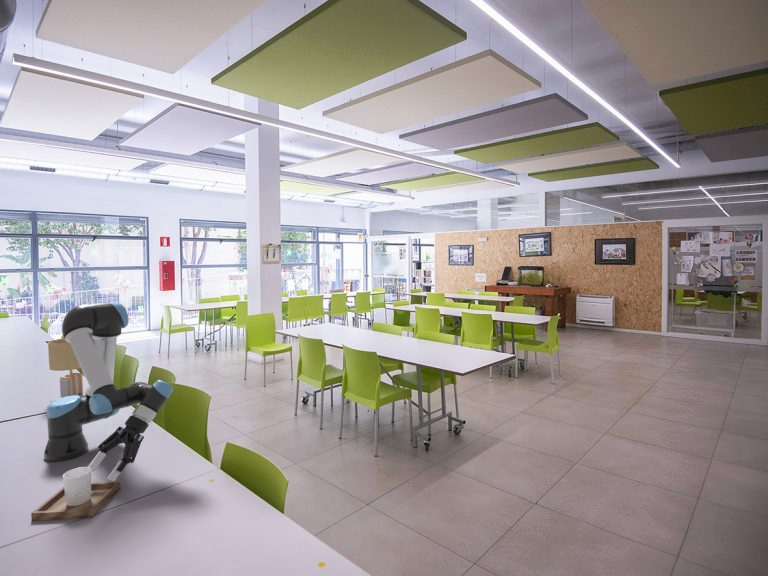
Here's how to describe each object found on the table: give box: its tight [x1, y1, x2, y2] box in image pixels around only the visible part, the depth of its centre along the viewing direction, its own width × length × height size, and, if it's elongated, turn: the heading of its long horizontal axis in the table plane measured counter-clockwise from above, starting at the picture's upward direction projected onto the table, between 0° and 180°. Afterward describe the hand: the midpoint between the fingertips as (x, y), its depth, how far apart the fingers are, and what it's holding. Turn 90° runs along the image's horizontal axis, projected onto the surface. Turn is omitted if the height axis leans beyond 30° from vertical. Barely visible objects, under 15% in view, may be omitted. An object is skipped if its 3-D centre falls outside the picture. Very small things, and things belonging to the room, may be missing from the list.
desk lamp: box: [47, 337, 86, 403], centre depth 251 cm, size 20×20×35 cm
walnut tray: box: [30, 480, 121, 522], centre depth 147 cm, size 18×18×2 cm
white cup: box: [62, 466, 92, 506], centre depth 147 cm, size 8×8×10 cm
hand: (99, 475), depth 153 cm, fingers open, 13 cm apart
